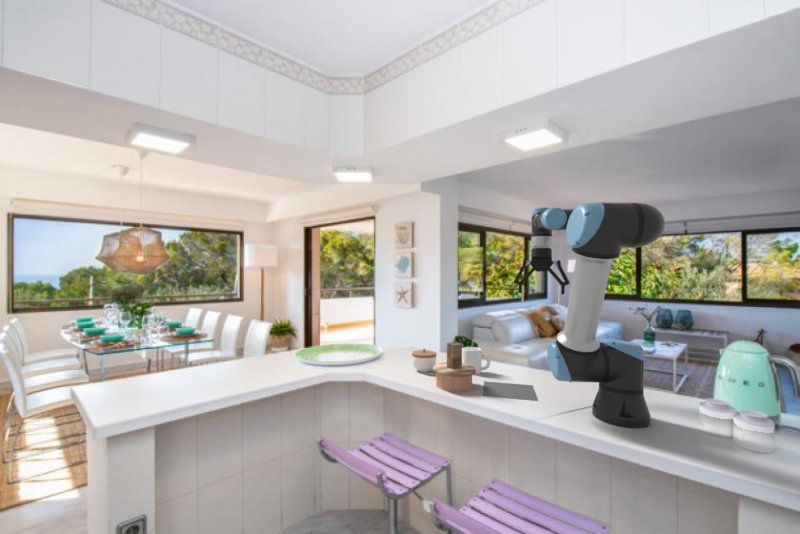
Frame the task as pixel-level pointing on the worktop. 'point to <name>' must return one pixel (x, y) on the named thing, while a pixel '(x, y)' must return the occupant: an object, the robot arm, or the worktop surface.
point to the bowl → (453, 383)
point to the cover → (454, 363)
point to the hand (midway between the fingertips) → (540, 302)
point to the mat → (509, 391)
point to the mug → (474, 358)
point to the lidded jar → (423, 360)
